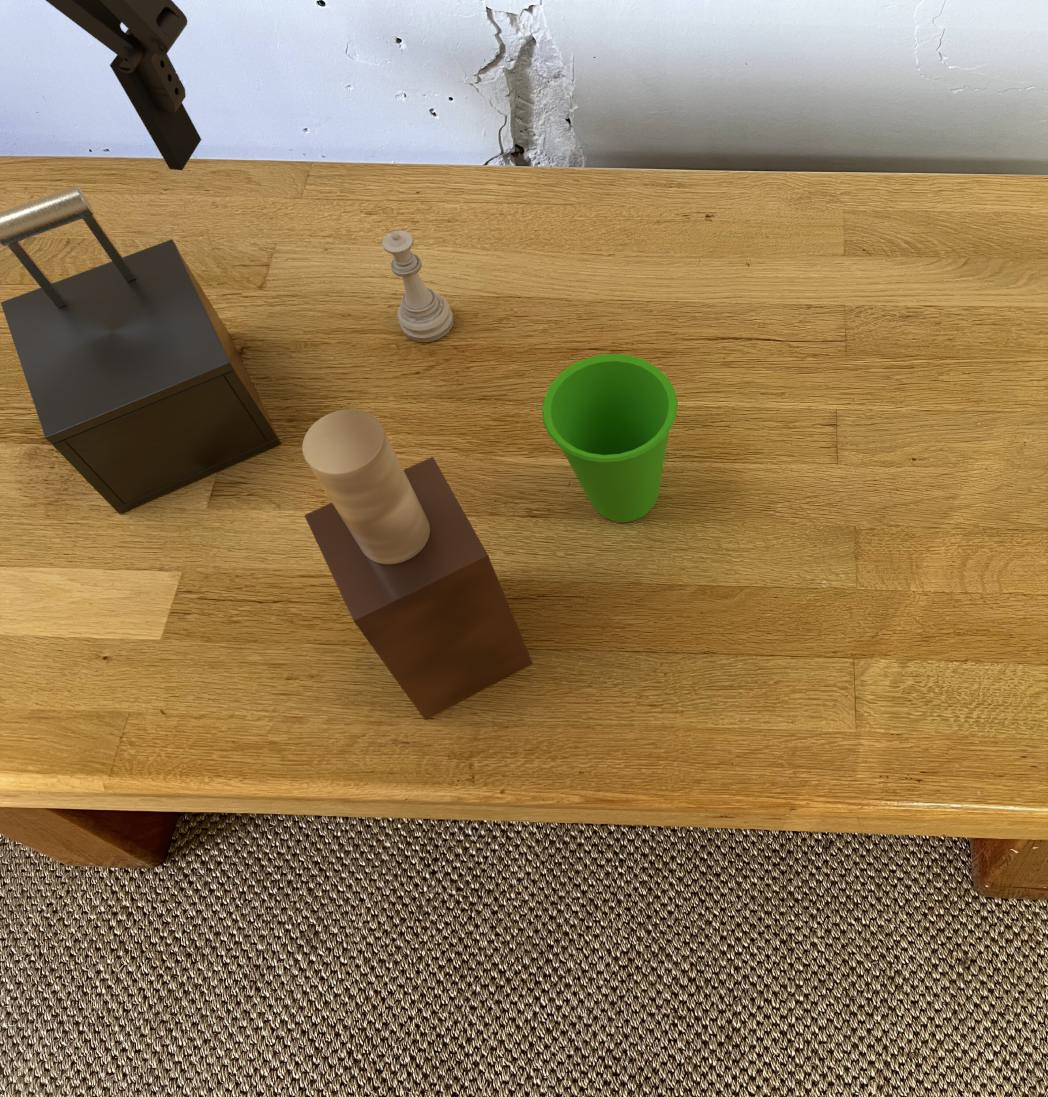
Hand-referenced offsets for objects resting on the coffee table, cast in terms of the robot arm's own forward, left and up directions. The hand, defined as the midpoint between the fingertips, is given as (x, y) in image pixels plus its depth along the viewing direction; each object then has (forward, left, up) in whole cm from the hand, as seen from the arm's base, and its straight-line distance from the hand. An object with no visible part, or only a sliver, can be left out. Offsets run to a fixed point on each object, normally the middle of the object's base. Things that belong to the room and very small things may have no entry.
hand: (75, 143), depth 60 cm
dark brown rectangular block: (+6, -27, -26) cm, 38 cm away
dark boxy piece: (-5, +3, -26) cm, 26 cm away
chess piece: (+16, +2, -26) cm, 30 cm away
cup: (+22, -22, -26) cm, 40 cm away
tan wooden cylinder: (+6, -27, -11) cm, 30 cm away
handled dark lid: (-5, +3, -17) cm, 18 cm away
